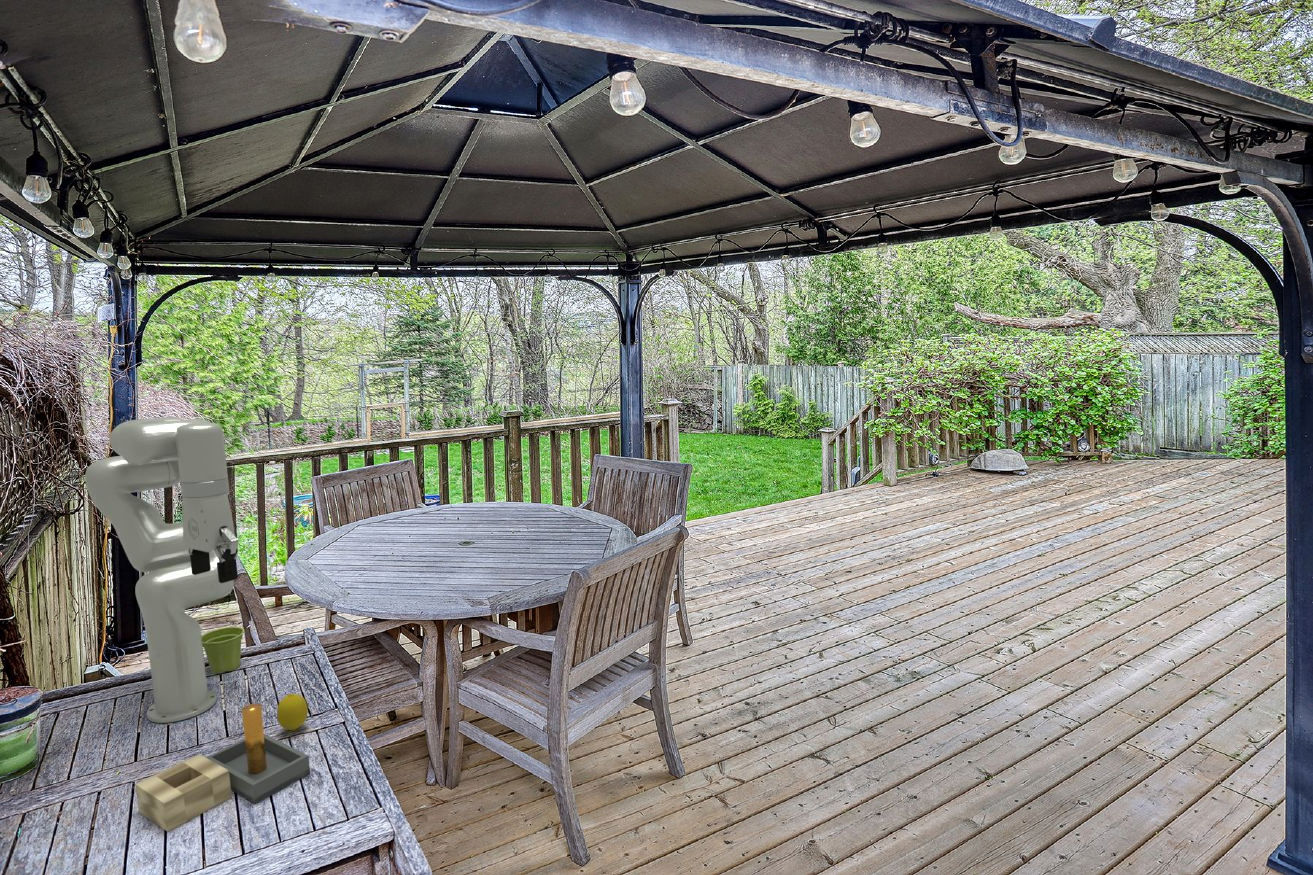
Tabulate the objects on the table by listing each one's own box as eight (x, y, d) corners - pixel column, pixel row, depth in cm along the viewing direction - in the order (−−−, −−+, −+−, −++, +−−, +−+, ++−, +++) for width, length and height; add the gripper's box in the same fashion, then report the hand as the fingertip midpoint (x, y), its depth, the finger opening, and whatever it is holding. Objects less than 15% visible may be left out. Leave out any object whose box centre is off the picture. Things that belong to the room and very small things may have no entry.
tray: (206, 775, 127) (204, 757, 127) (261, 748, 136) (259, 731, 135) (255, 804, 119) (253, 785, 119) (310, 773, 128) (308, 755, 127)
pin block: (138, 811, 118) (135, 783, 117) (202, 779, 126) (199, 753, 126) (167, 831, 113) (164, 803, 112) (231, 797, 121) (228, 770, 120)
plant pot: (227, 678, 165) (223, 643, 164) (193, 675, 167) (189, 641, 166) (256, 660, 174) (253, 627, 173) (223, 658, 176) (220, 625, 175)
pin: (244, 770, 127) (238, 708, 125) (261, 762, 129) (255, 701, 128) (253, 775, 125) (247, 713, 124) (270, 767, 128) (264, 705, 126)
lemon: (296, 739, 139) (293, 701, 138) (272, 736, 140) (268, 699, 139) (315, 724, 144) (312, 687, 143) (291, 722, 145) (288, 685, 144)
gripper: (160, 488, 132) (170, 575, 134) (208, 497, 123) (218, 590, 125) (203, 481, 138) (212, 564, 141) (251, 489, 129) (259, 578, 132)
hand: (214, 576), depth 133 cm, fingers open, 9 cm apart
